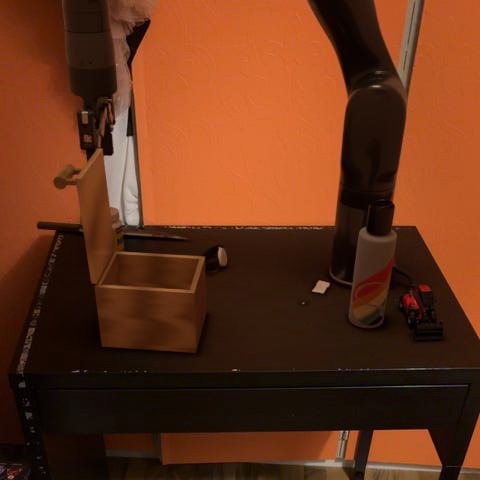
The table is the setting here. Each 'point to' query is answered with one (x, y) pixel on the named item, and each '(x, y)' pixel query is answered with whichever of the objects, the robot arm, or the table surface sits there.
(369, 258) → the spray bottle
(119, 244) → the supplement bottle
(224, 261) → the watch
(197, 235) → the table surface
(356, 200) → the robot arm
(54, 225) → the knife
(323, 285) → the card
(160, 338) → the brown open rectangular box
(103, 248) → the lid
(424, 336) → the loader
